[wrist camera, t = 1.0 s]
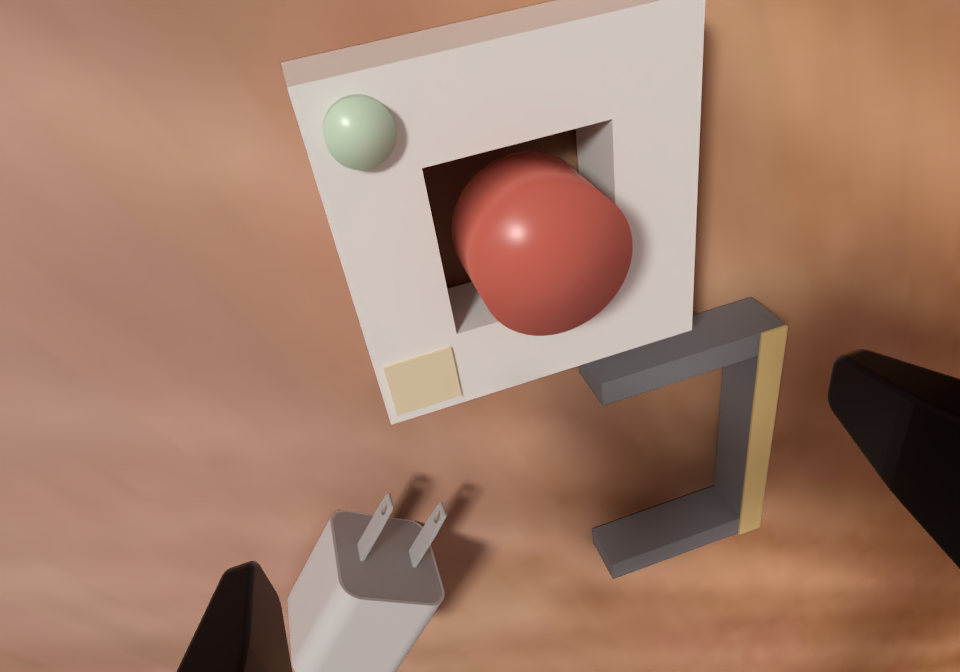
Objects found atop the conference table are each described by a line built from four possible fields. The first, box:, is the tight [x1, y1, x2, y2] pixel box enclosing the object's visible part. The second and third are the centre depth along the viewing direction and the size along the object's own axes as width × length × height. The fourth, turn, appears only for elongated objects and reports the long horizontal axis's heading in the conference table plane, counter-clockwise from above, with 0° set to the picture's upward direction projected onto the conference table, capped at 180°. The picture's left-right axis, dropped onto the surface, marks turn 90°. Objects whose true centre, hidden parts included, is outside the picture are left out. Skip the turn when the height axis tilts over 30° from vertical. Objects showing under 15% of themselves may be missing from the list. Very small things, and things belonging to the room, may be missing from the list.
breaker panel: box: [281, 0, 705, 425], centre depth 19 cm, size 10×10×3 cm
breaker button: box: [451, 151, 633, 336], centre depth 18 cm, size 4×4×3 cm
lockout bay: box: [579, 297, 788, 579], centre depth 27 cm, size 11×7×2 cm, turn 9°
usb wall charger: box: [288, 493, 447, 672], centre depth 25 cm, size 4×7×4 cm, turn 151°
